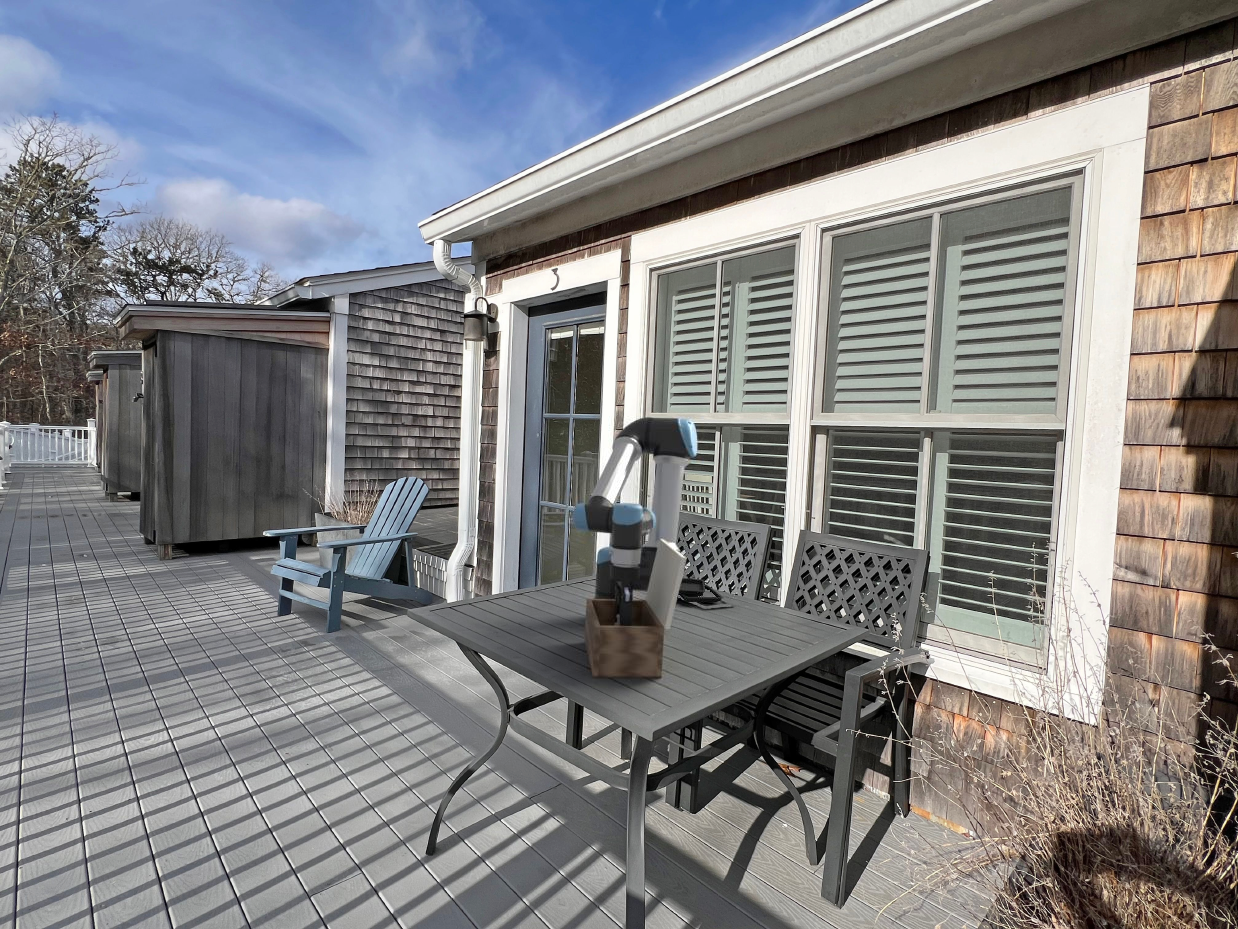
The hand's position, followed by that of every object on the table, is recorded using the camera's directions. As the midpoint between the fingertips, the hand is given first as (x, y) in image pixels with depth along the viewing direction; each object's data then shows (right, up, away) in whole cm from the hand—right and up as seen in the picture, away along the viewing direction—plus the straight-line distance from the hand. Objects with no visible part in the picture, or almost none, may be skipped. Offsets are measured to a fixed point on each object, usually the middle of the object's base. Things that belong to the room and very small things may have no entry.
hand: (620, 652), depth 167 cm
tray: (+26, -1, +67) cm, 72 cm away
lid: (+11, +19, 0) cm, 21 cm away
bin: (0, -1, 0) cm, 1 cm away
